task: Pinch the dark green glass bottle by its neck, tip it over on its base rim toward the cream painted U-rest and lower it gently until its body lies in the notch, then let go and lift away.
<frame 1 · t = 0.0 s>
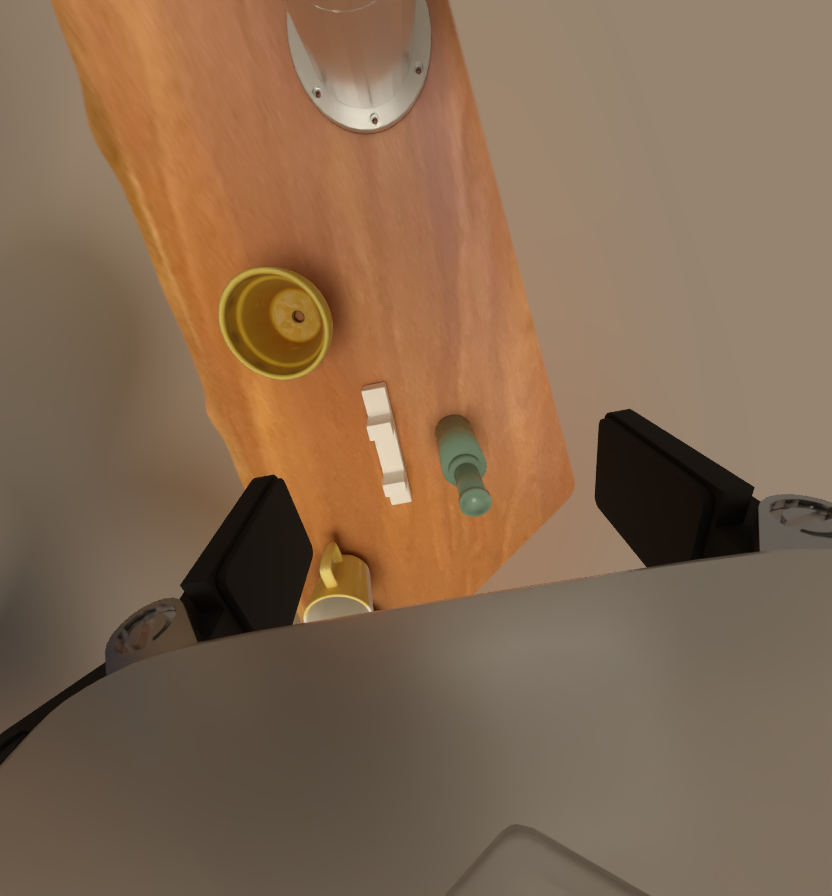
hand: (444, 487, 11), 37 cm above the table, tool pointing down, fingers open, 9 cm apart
plant pot: (299, 314, 43), on the table
mug: (347, 558, 61), on the table
green bottle: (453, 432, 50), on the table
u rest: (388, 443, 51), on the table
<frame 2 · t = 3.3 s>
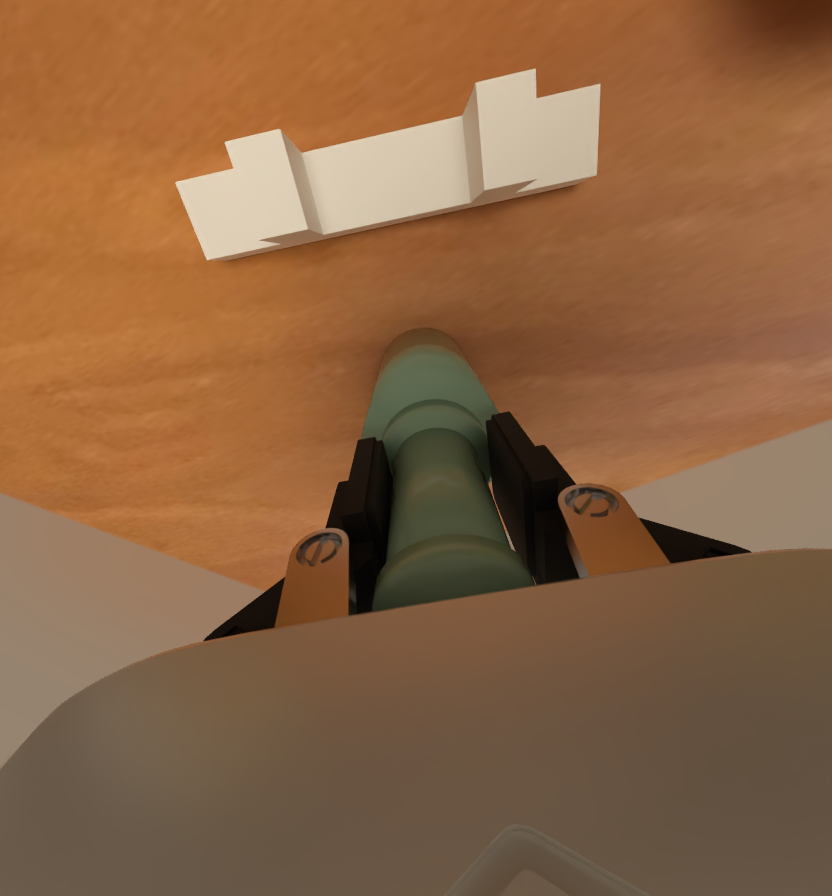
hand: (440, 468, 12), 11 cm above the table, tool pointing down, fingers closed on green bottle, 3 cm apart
green bottle: (423, 372, 22), on the table, touching gripper
u rest: (390, 188, 17), on the table
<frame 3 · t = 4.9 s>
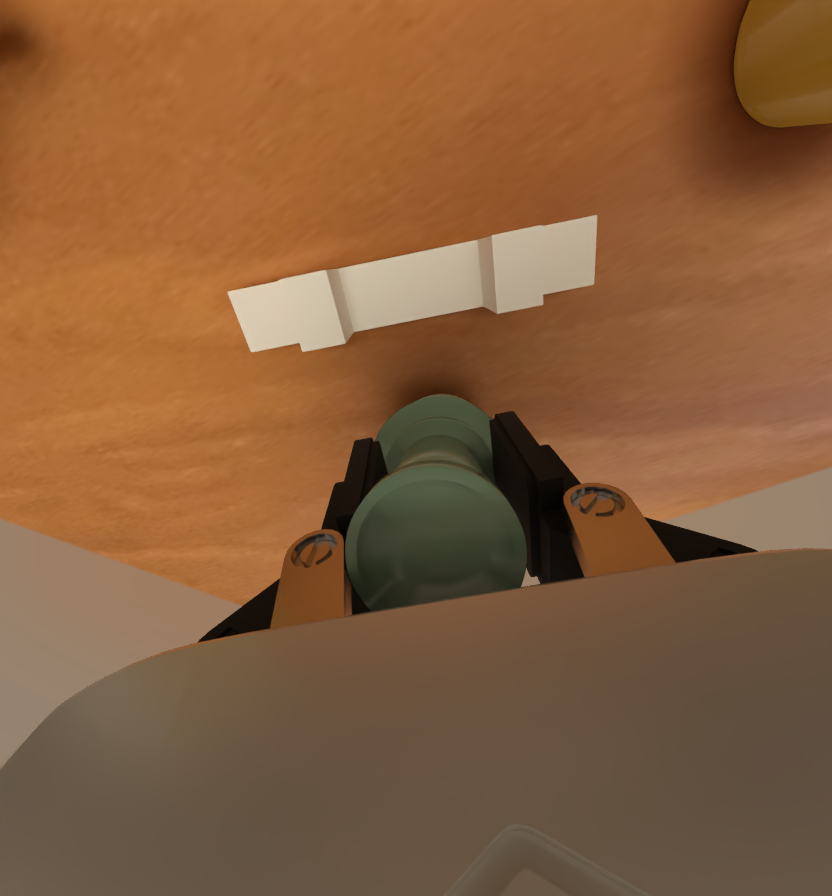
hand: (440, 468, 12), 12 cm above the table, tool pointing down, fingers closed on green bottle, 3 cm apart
plant pot: (805, 36, 16), on the table
green bottle: (441, 433, 23), point 1 cm above the table, tilted 19°, touching gripper
u rest: (411, 285, 20), on the table
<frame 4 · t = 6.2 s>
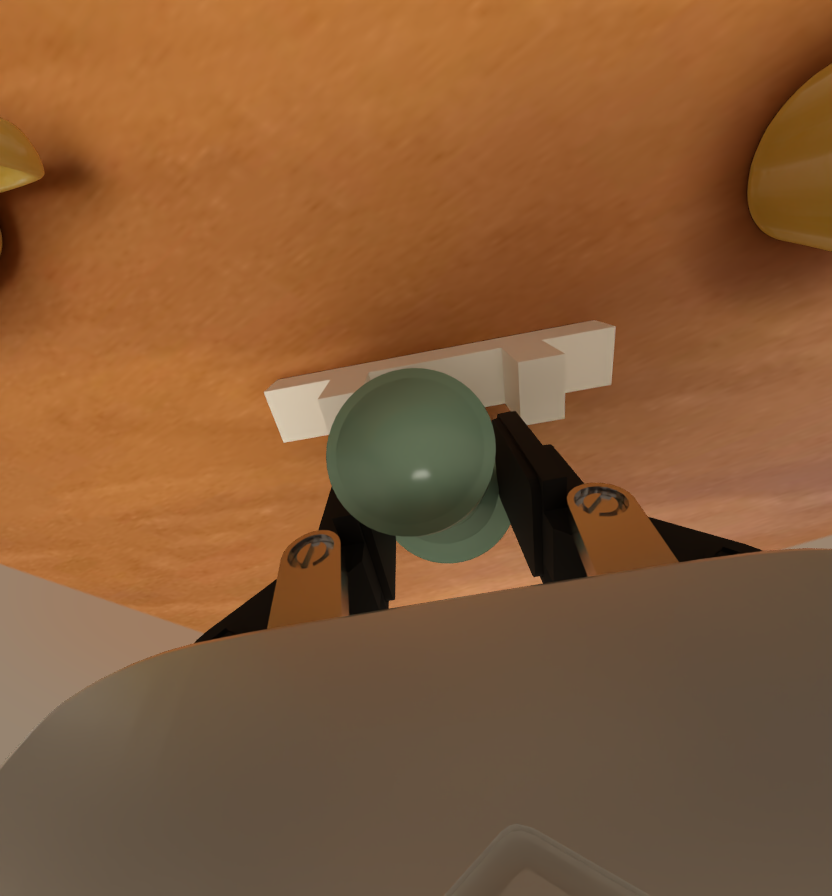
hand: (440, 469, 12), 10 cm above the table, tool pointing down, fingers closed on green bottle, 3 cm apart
plant pot: (816, 162, 17), on the table
green bottle: (460, 508, 23), point 2 cm above the table, tilted 42°, touching gripper
u rest: (435, 376, 21), on the table
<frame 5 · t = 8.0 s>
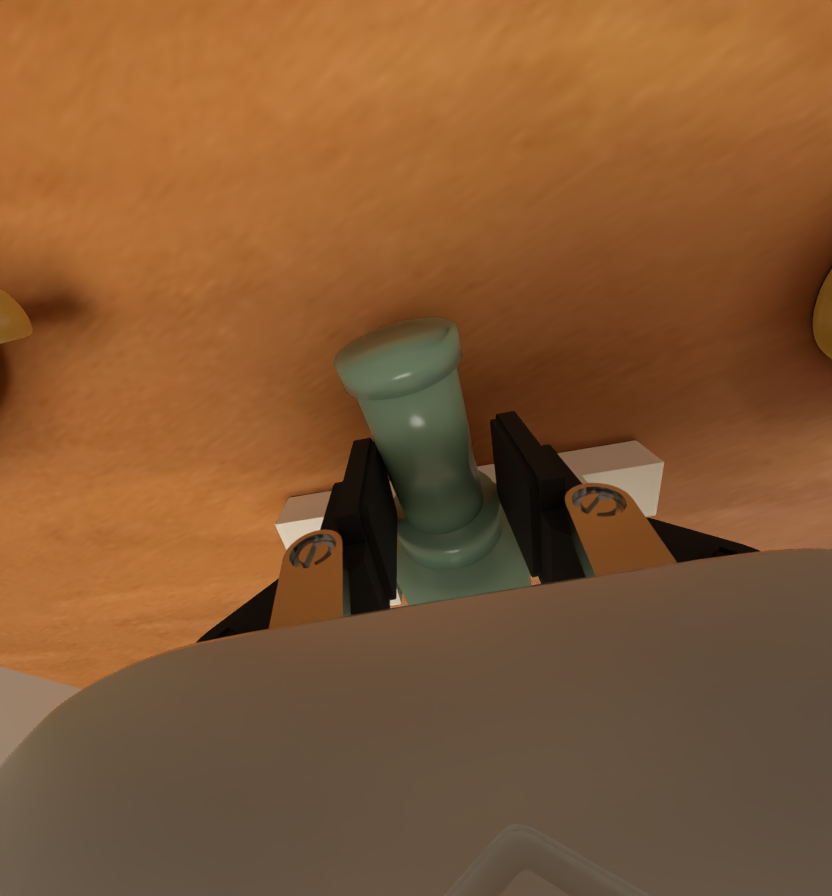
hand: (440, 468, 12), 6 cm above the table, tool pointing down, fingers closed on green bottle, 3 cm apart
green bottle: (487, 648, 19), point 4 cm above the table, tilted 81°, touching gripper, u rest
u rest: (460, 493, 19), on the table
when the fingers open (4 cm above the table, at t = 9.5 s): green bottle stays where it is and tips over, resting on u rest.
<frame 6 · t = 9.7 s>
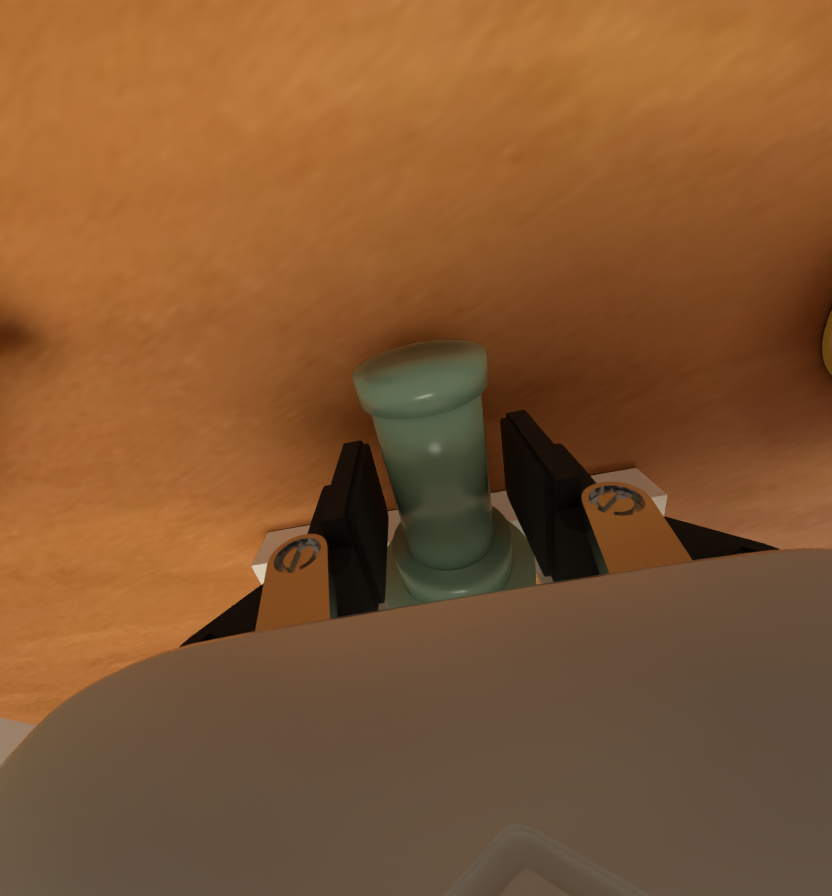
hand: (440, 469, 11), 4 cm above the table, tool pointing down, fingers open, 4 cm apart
green bottle: (480, 699, 17), point 4 cm above the table, tilted 86°, touching u rest
u rest: (451, 524, 18), on the table
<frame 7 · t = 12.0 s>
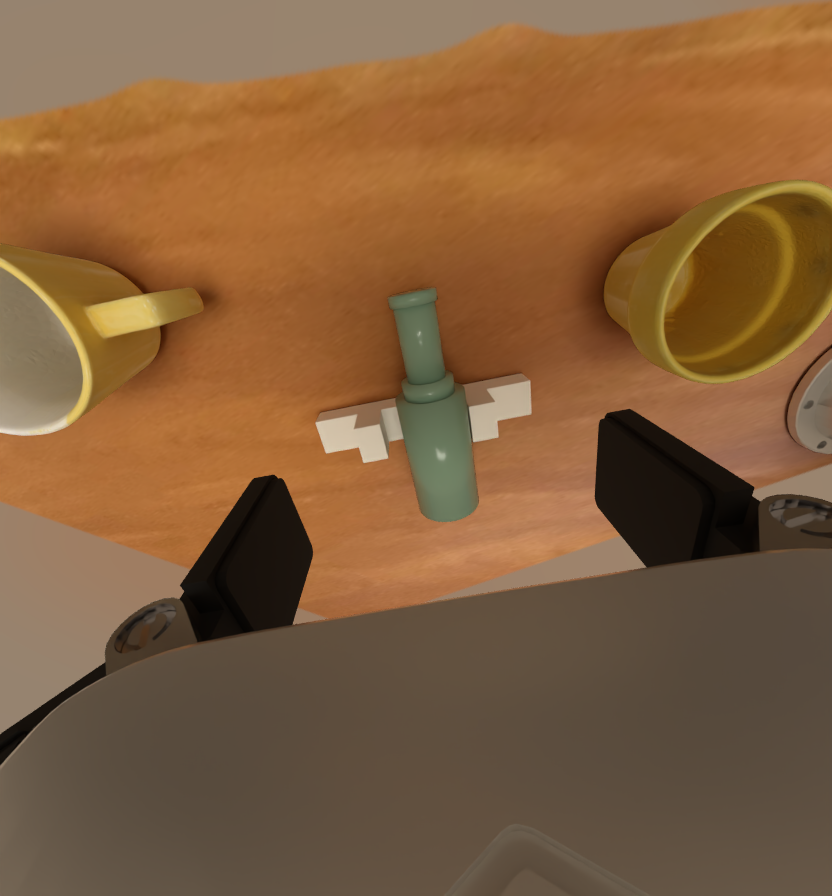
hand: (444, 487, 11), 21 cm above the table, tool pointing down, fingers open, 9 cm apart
plant pot: (642, 284, 28), on the table
mug: (142, 318, 28), on the table
green bottle: (448, 501, 31), point 5 cm above the table, tilted 90°, touching u rest
u rest: (422, 408, 32), on the table
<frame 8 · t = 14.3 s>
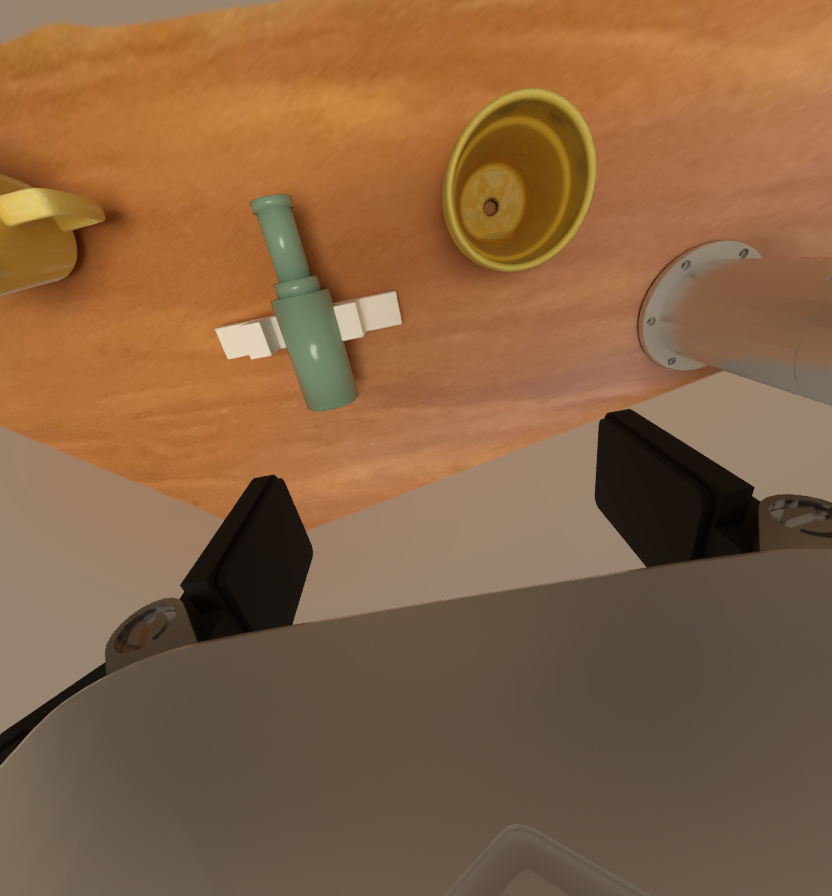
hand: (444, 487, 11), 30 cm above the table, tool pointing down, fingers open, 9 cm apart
plant pot: (489, 208, 33), on the table
mug: (64, 235, 33), on the table
green bottle: (333, 400, 36), point 5 cm above the table, tilted 90°, touching u rest
u rest: (313, 323, 37), on the table
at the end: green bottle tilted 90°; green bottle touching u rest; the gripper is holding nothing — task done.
